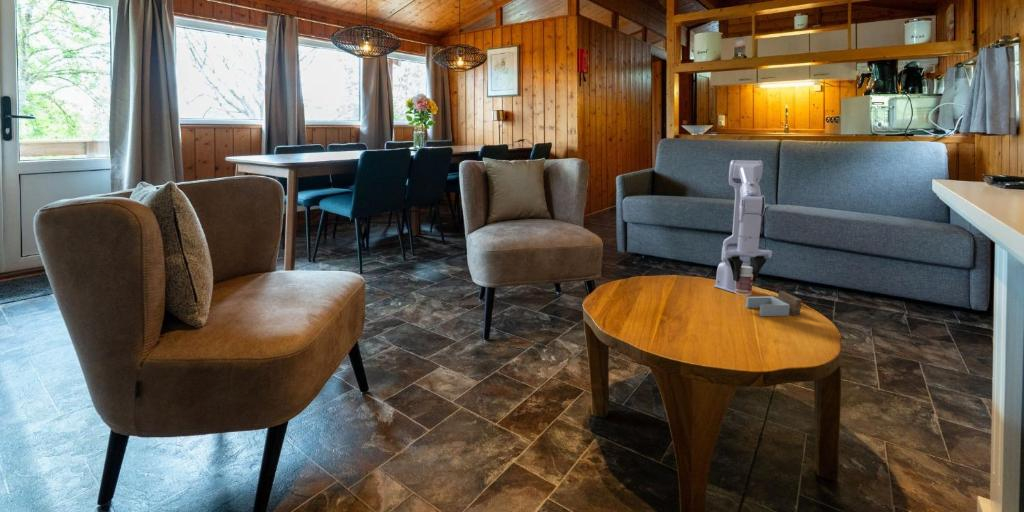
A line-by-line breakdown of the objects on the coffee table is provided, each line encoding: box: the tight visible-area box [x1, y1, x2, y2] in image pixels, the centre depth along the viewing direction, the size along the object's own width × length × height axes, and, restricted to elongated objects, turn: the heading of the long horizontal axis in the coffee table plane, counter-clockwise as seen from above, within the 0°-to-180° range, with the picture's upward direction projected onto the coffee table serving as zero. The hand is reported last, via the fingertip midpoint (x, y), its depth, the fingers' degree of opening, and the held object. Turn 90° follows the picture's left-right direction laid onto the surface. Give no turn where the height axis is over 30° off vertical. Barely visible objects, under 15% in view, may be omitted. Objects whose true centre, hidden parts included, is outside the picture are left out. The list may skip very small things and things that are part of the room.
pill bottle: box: [734, 265, 754, 297], centre depth 162 cm, size 5×5×8 cm
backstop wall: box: [777, 290, 803, 317], centre depth 162 cm, size 2×9×5 cm, turn 6°
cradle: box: [745, 295, 790, 317], centre depth 162 cm, size 8×9×3 cm
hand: (744, 280), depth 162 cm, fingers closed on pill bottle, 5 cm apart
